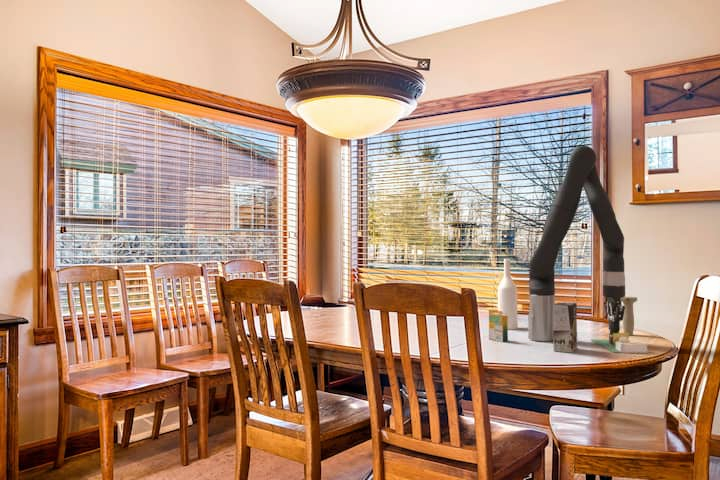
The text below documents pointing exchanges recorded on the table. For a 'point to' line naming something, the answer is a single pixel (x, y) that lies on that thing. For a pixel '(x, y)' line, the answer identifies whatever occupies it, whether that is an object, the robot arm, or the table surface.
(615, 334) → the long multicoloured device
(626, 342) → the ball
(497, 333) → the crayon box
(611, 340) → the brown cardboard carton
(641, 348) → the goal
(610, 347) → the pitch
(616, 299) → the robot arm
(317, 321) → the table surface
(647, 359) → the table surface
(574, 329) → the coffee box
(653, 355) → the table surface
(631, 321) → the handle
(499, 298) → the bottle
